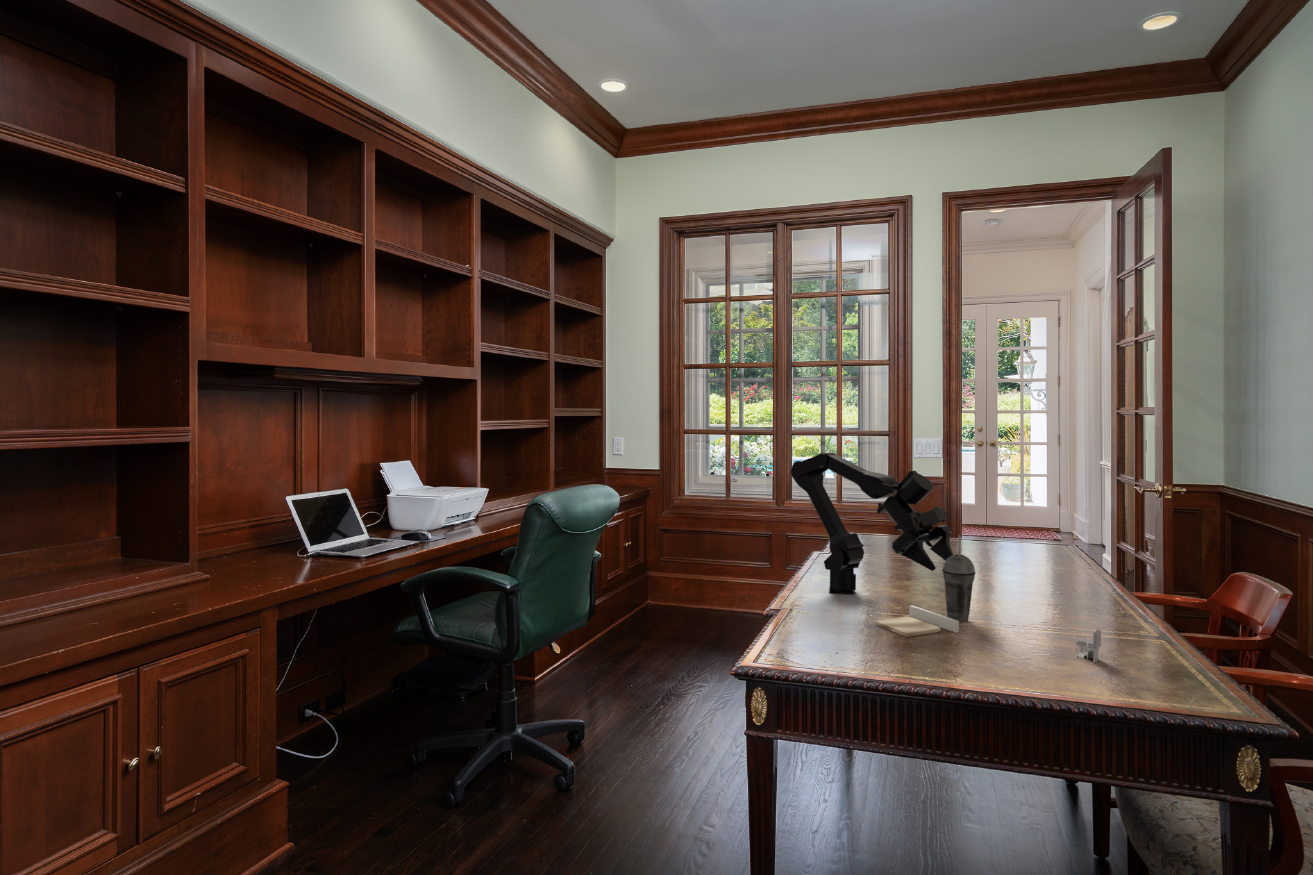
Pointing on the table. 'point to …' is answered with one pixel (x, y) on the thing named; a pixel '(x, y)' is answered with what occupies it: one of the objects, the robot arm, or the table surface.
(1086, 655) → the architectural model
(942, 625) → the divider wall
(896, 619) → the coaster
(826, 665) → the table surface
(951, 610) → the beverage cup
